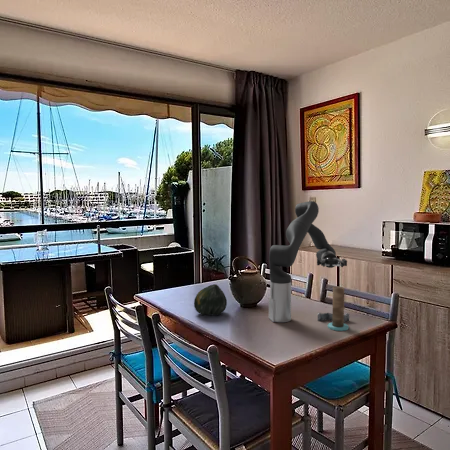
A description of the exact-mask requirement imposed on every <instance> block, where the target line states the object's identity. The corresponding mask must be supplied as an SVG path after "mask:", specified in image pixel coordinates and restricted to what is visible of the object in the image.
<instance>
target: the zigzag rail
mask: <svg viewBox="0 0 450 450" xmlns="http://www.w3.org/2000/svg"><path fill="white" fill-rule="evenodd" d="M322 321H331V322H332V312H331V313H330V312H325V313H322V312H317V322H322ZM346 321H349V322H350V313H349V312H346V313H345V312H344V323H347V322H346Z"/></svg>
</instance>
